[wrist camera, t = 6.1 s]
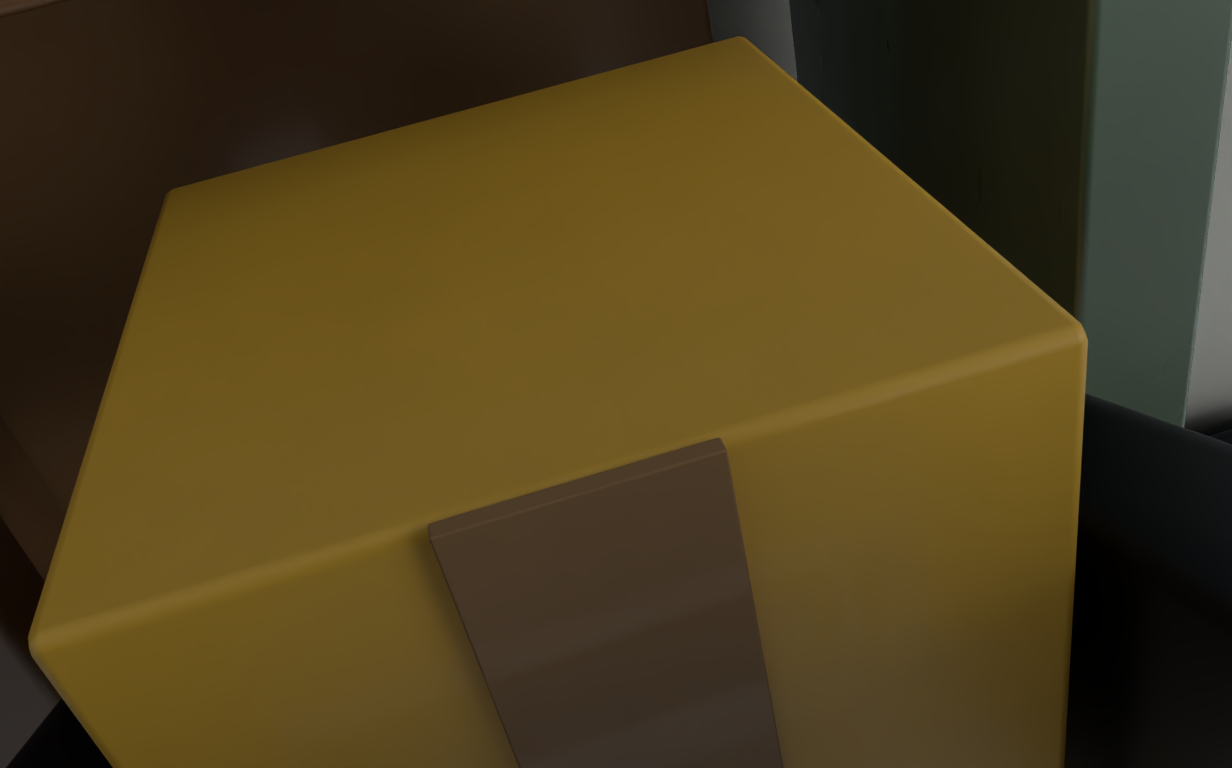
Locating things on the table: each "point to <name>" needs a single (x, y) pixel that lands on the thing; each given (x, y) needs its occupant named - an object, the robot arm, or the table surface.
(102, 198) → the drawer
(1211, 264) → the table surface
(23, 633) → the cabinet
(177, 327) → the small carton
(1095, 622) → the robot arm
